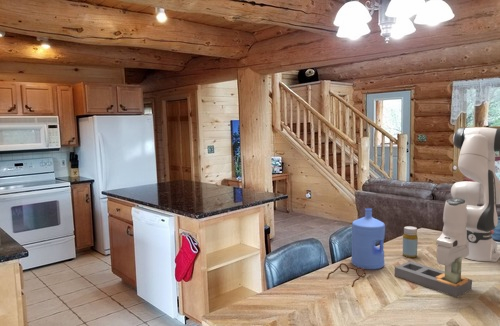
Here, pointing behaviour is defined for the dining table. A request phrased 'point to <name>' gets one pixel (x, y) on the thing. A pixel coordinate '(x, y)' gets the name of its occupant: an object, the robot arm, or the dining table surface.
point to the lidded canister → (410, 241)
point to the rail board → (432, 278)
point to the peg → (454, 272)
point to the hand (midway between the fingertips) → (452, 270)
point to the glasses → (348, 270)
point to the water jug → (367, 242)
